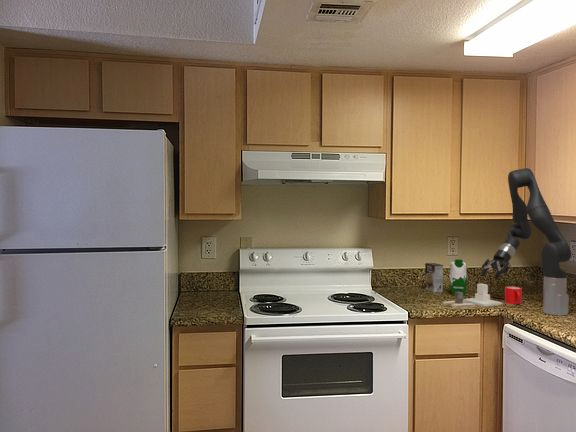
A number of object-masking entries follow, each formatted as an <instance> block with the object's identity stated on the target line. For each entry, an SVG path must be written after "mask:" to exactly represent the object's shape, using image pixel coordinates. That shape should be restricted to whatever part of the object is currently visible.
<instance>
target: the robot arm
mask: <svg viewBox="0 0 576 432" xmlns="http://www.w3.org/2000/svg"><path fill="white" fill-rule="evenodd" d="M507 182H508V188H509V195H510V199H511V206H512V221H513V223H514V224H511V226H510V227H509V228H508V229H509V231H508V234H507V236H506V238H505V241H504V242H503V243H502V244H501V245H500V247H499V248H498V249H497V251H496V252H495V253H494V255H493V259H492V260H490V259H489V258H487V259H486V260H485V262H483V264H481V268H482V271H481V272H480V276H482V277H485V276H486V275H487V273H488V272H489V271H492V270H497V271H496V272H495V274H494V275H493V277H494V279H496V280H498V279H499V278H500V277H501V276H502V275H503V274H507V273H508V271H509V270H510V268H511V266H512V265H511V263H510V261H511V259H512V258H513V257H514V255H515V252H516V251H517V249H518V248H519V246H520V244H521V242H520V240H519V239H522V240H527V239H529V238H530V237H531V236H532V228H531V225H530V223H529V222H531V223H532V224H533V226H534V227H535V228H537V230H538V231H540V232H541V233H542V234H543V235H544V236H545V238H546V239H547V240H548V242H546V243H544V245H542V247H541V251H540V253H541V255H540V256H541V259H540V260H541V261H540V262H541V270H542V273H543V286H542V287H543V290H542V292H543V294H542V297H543V298H542V299H543V302H542V304H543V305H542V313H544V314H545V315H546V314H547V315H552V316H558V317H562V316H567V315H569V293H567V282H568V281H567V278H568V277H567V273H568V272H567V271H566V270H564V269H563V268H561V267H560V263H566V262H568V261H570V259H571V258H572V251H571V247H570V245H569V244H568V242H567V240H566V239H565V238H564V236H563V234H562V232H561V231H560V229H559V227H558V225H557V223H556V222H555V219H554V217H553V216H552V213H551V211H550V209H549V206H548V205H547V203H546V200H545V199H544V197H543V195H542V192H541V191H540V188H539V185H538V181H537V179H536V177H535V175H534V172H533V171H532V169H531V168H528V167H524V168H520V169H514V170H511V171H509V173H508V175H507ZM524 187H525V188H526V187H527V189H528V191H529V196H528V197H529V198H528V200H527V204H526V202H525V201H524V200H523V198H521V196H520V195H519V191H518V189H519V188H524ZM528 218H529V219H528ZM529 220H530V221H529ZM518 238H519V239H518Z"/></svg>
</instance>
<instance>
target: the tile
mask: <svg viewBox="0 0 576 432" xmlns="http://www.w3.org/2000/svg"><path fill="white" fill-rule="evenodd" d="M463 301H465V302H468V303H472V304H476V305H477V306H481V307H492V306H493V307H494V306H501V305H503V302H502V301H498V300H493V299H490V301H488V302H480V301H476V300H475V297H472V298H471V297H470V298H463Z"/></svg>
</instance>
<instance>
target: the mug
mask: <svg viewBox="0 0 576 432" xmlns="http://www.w3.org/2000/svg"><path fill="white" fill-rule="evenodd" d="M522 299H523V288H522V287H519V286H514V285H513V286H512V285H511V286H510V285H508V286H507V285H506V286H504V303H506V304H509V305H522V303H523V301H522Z"/></svg>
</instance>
